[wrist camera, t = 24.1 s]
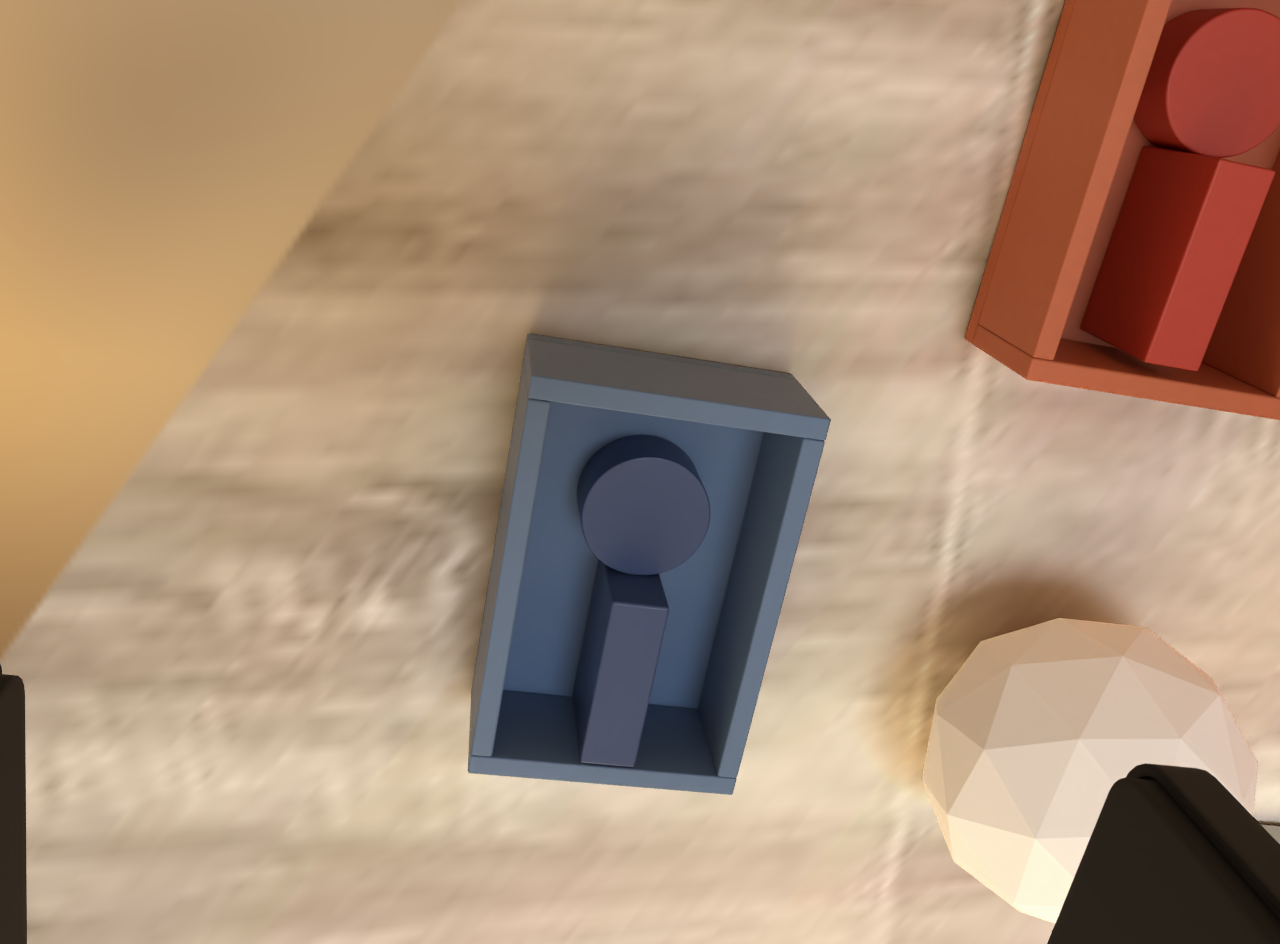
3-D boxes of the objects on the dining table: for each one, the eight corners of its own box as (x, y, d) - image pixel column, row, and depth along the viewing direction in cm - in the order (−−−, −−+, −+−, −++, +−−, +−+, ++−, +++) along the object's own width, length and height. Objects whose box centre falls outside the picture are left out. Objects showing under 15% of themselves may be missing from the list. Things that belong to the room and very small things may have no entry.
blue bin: (527, 332, 30) (531, 375, 27) (792, 373, 32) (831, 419, 28) (471, 692, 34) (467, 773, 31) (708, 715, 36) (732, 795, 32)
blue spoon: (588, 425, 31) (598, 471, 28) (711, 443, 32) (735, 490, 28) (540, 691, 34) (544, 761, 31) (653, 702, 35) (669, 771, 31)
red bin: (1095, -104, 28) (1188, -125, 24) (1355, -39, 29) (1482, -50, 26) (963, 339, 32) (1025, 380, 28) (1197, 377, 33) (1287, 421, 30)
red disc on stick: (1157, -5, 28) (1241, -10, 25) (1277, 25, 29) (1374, 24, 26) (1046, 323, 31) (1109, 356, 28) (1158, 344, 32) (1232, 378, 29)
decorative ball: (1136, 744, 41) (1206, 1061, 31) (877, 642, 41) (866, 929, 31) (1292, 582, 36) (1434, 902, 26) (996, 464, 36) (1028, 742, 26)
